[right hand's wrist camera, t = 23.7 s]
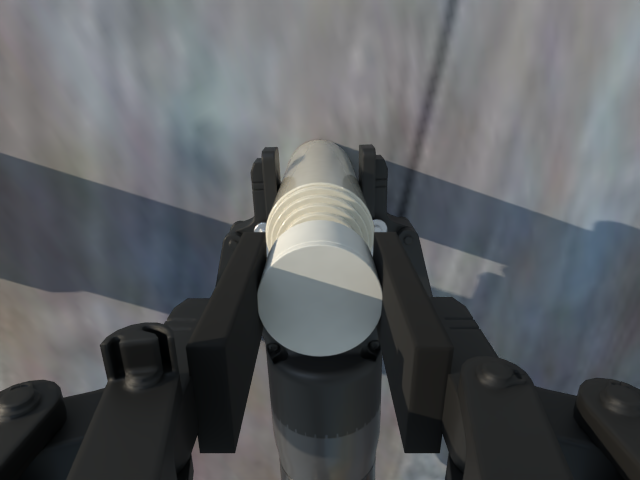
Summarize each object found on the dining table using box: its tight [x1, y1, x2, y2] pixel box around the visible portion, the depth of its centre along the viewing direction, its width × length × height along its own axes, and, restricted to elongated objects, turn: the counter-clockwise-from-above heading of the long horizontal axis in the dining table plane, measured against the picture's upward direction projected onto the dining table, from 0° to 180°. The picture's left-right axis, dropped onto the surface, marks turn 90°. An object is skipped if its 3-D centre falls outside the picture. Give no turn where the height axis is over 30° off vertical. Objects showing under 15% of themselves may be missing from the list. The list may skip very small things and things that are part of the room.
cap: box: [257, 220, 382, 356], centre depth 13 cm, size 4×4×2 cm
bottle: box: [266, 140, 375, 251], centre depth 21 cm, size 5×5×18 cm
